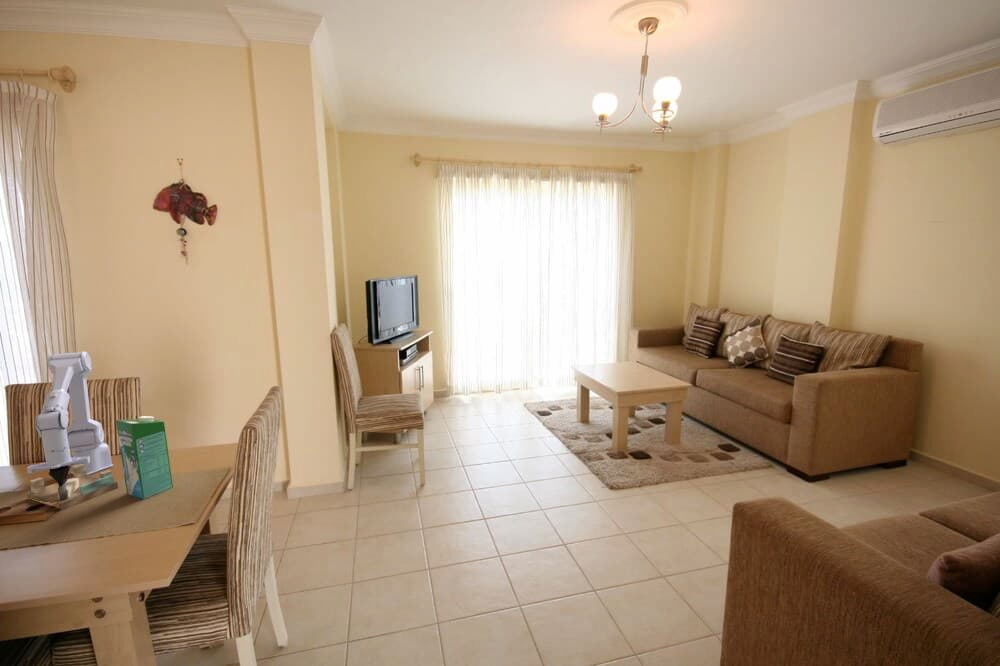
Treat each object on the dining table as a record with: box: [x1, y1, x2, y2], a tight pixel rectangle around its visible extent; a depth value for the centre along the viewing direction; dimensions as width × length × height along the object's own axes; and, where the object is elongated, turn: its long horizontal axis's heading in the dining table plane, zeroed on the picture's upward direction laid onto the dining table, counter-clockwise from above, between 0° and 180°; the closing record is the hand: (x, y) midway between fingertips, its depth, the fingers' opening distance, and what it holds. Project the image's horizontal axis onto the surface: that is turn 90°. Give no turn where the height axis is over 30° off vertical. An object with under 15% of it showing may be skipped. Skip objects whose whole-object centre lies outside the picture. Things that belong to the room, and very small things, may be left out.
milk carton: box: [115, 415, 174, 500], centre depth 149 cm, size 9×9×25 cm
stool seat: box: [26, 464, 119, 511], centre depth 149 cm, size 15×19×6 cm
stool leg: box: [57, 478, 80, 500], centre depth 145 cm, size 10×2×4 cm, turn 27°
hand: (63, 489), depth 147 cm, fingers closed
